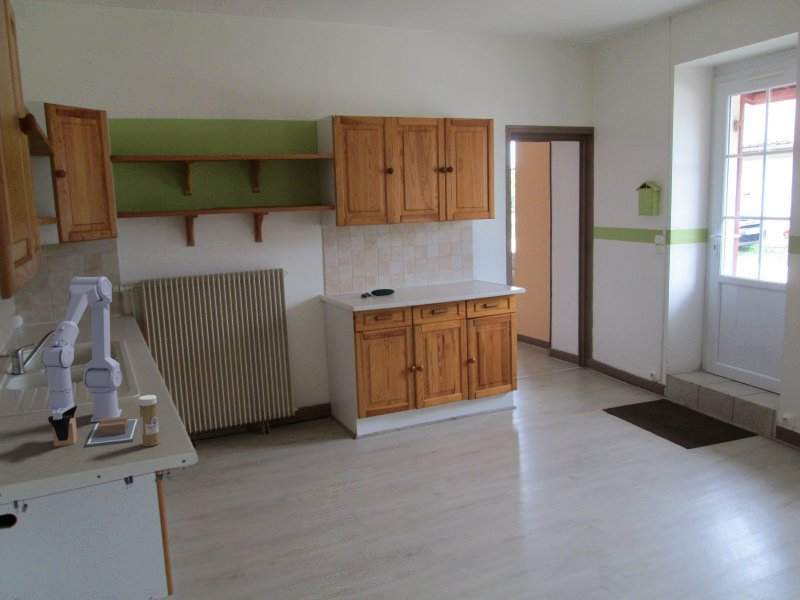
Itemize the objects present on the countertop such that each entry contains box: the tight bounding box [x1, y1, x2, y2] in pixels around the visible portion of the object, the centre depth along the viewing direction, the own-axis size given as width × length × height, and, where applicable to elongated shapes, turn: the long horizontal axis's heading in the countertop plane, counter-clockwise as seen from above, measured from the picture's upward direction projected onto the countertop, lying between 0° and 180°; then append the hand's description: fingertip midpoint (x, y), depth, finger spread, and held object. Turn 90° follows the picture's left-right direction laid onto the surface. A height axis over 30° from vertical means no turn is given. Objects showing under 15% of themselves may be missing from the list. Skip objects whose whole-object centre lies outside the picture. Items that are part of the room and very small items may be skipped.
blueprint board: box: [85, 418, 140, 448], centre depth 189 cm, size 18×12×1 cm, turn 17°
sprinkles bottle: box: [138, 394, 161, 447], centre depth 179 cm, size 5×5×13 cm
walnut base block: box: [98, 415, 129, 437], centre depth 189 cm, size 7×7×3 cm
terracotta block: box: [51, 417, 78, 447], centre depth 183 cm, size 5×5×6 cm
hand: (65, 436), depth 183 cm, fingers open, 6 cm apart
